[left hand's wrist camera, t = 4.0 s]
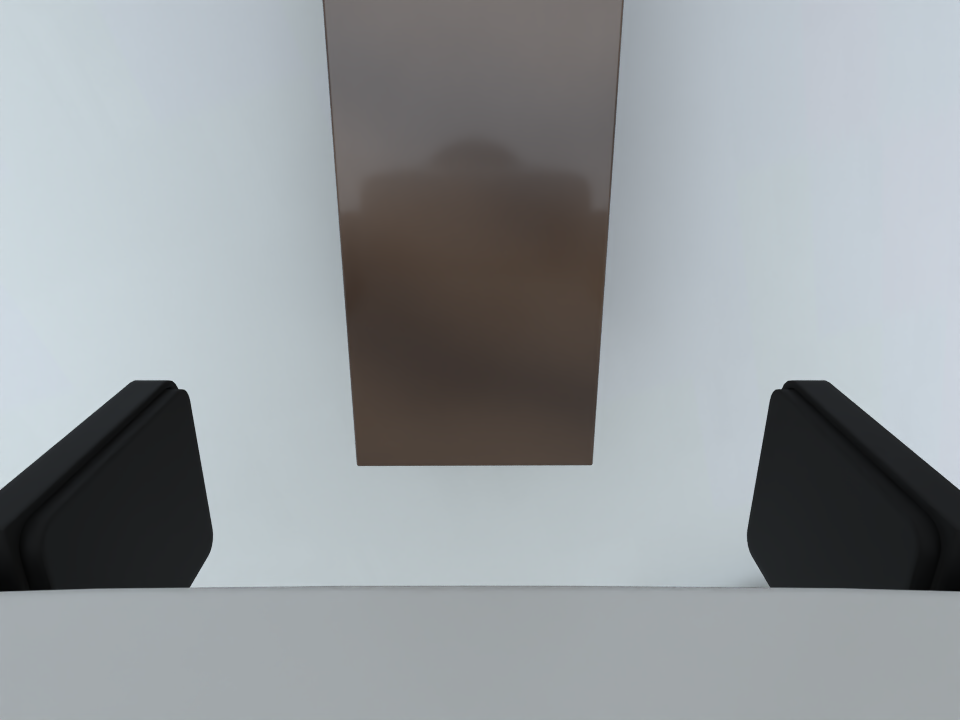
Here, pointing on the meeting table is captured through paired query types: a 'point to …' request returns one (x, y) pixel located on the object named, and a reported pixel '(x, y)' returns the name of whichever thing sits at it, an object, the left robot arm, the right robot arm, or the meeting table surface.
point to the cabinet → (473, 223)
